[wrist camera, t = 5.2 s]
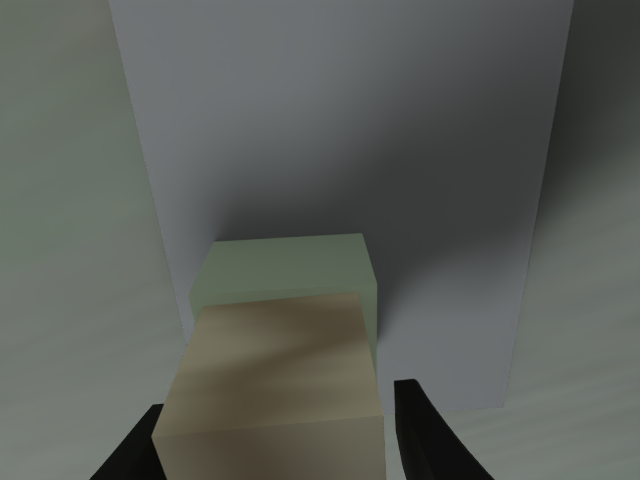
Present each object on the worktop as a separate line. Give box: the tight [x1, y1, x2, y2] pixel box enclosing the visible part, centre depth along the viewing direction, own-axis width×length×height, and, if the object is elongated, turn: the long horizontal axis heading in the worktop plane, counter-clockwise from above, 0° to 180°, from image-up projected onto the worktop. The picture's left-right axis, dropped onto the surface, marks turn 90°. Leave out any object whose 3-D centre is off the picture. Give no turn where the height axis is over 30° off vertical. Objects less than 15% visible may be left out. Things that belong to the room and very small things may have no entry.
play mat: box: [108, 0, 574, 414], centre depth 17 cm, size 15×24×1 cm, turn 3°
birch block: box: [151, 291, 386, 480], centre depth 12 cm, size 5×5×5 cm
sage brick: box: [188, 233, 377, 382], centre depth 17 cm, size 6×6×4 cm
